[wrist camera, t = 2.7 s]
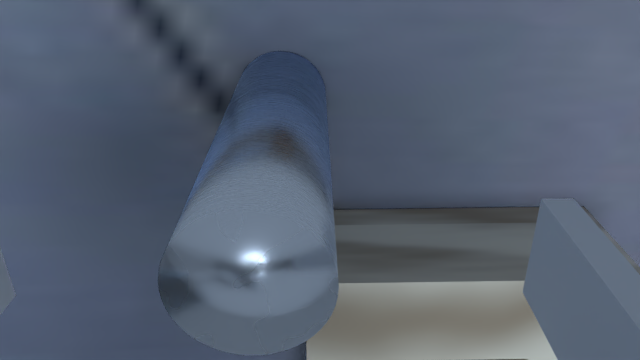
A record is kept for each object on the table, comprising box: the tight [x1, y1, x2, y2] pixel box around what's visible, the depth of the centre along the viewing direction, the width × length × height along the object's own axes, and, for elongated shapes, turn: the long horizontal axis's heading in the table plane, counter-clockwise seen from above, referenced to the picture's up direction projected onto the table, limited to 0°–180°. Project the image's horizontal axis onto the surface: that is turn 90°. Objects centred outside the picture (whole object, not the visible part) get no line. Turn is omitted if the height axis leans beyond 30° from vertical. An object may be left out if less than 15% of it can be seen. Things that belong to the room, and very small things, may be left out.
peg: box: [158, 51, 339, 356], centre depth 18 cm, size 4×4×14 cm
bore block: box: [306, 206, 640, 360], centre depth 28 cm, size 14×14×6 cm
